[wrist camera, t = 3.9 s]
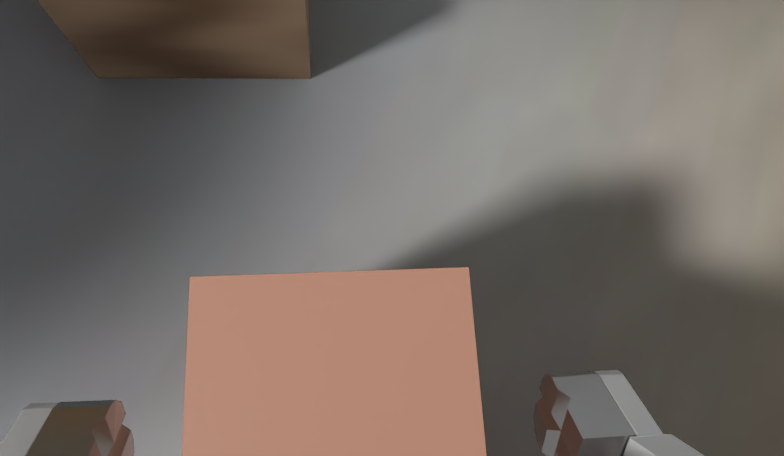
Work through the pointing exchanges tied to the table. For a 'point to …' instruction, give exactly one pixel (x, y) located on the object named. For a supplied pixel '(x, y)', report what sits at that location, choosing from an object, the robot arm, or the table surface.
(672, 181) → the table surface
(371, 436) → the post
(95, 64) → the tower base
